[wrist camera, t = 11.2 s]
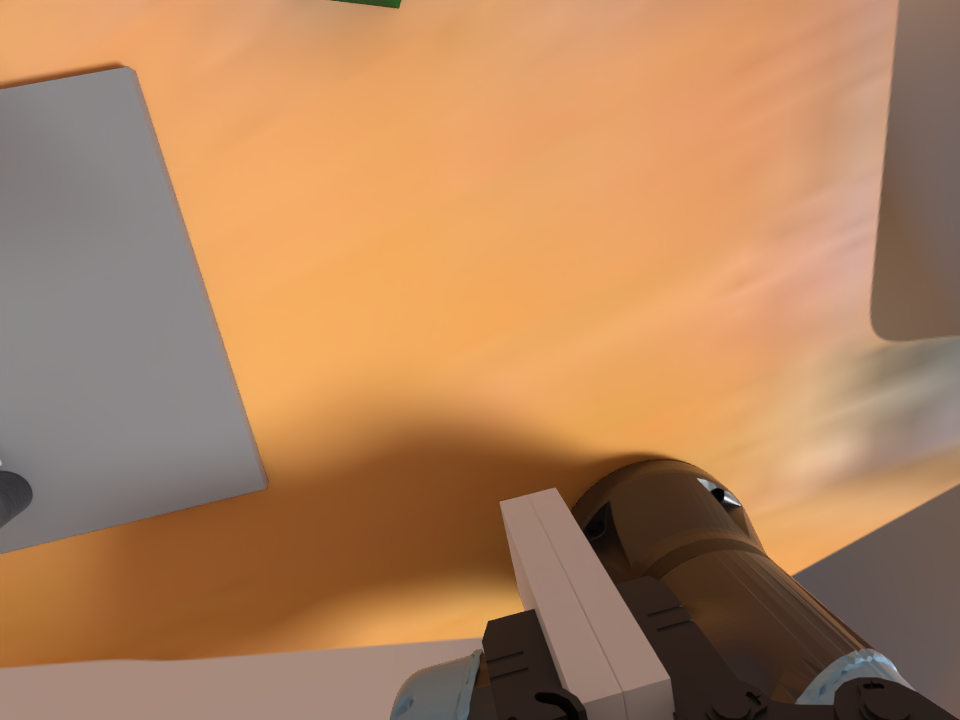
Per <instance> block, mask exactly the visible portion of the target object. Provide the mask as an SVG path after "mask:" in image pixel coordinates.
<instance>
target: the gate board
mask: <svg viewBox="0 0 960 720" xmlns="http://www.w3.org/2000/svg"><path fill="white" fill-rule="evenodd" d="M0 460H1V462H2V465H1V466H0V471H9V472H13V473H16V474H19V475H20V476H22V477H23V478H25V479H26V480H27V481H28V483H29V484H30V486H31V488H32V492H33V498H32V501H31V503H30V505H29V506H28V507H27V508H26V509H25V510H24V511H22V512H21V513H20V514H18V515H17V516H16V517H15V518H13V519H12V520H11V521H9V522H8V523H7V524H5V525H4V526H3V527H2V528H0V554H3V553H7V552H11V551H15V550H19V549H23V548H27V547H31V546H36V545H40V544H44V543H48V542H52V541H56V540H60V539H64V538H68V537H72V536H76V535H80V534H85V533H89V532H93V531H97V530H101V529H105V528H109V527H113V526H117V525H121V524H125V523H129V522H134V521H138V520H142V519H146V518H150V517H154V516H158V515H162V514H166V513H170V512H174V511H178V510H182V509H187V508H191V507H195V506H199V505H203V504H207V503H211V502H215V501H219V500H223V499H227V498H231V497H236V496H240V495H244V494H248V493H252V492H256V491H260V490H264V489H266V487H267V485H268V479H267V476H266V473H265V470H264V467H263V464H262V461H261V458H260V455H259V452H258V449H257V445H256V442H255V439H254V436H253V433H252V430H251V427H250V424H249V421H248V418H247V415H246V411H245V408H244V405H243V402H242V399H241V396H240V393H239V390H238V387H237V384H236V381H235V377H234V374H233V371H232V368H231V365H230V362H229V359H228V356H227V353H226V350H225V347H224V343H223V340H222V337H221V334H220V331H219V328H218V325H217V322H216V319H215V316H214V313H213V309H212V306H211V303H210V300H209V297H208V294H207V291H206V288H205V285H204V282H203V278H202V275H201V272H200V269H199V266H198V263H197V260H196V257H195V254H194V251H193V248H192V244H191V241H190V238H189V235H188V232H187V229H186V226H185V223H184V220H183V217H182V214H181V210H180V207H179V204H178V201H177V198H176V195H175V192H174V189H173V186H172V183H171V180H170V176H169V173H168V170H167V167H166V164H165V161H164V158H163V155H162V152H161V149H160V146H159V142H158V139H157V136H156V133H155V130H154V127H153V124H152V121H151V118H150V115H149V112H148V108H147V105H146V102H145V99H144V96H143V93H142V90H141V87H140V84H139V81H138V77H137V74H136V71H135V70H133V69H131V68H130V67H123V68H117V69H111V70H106V71H100V72H95V73H89V74H84V75H78V76H72V77H67V78H61V79H56V80H50V81H45V82H39V83H33V84H28V85H22V86H17V87H11V88H6V89H0Z"/></svg>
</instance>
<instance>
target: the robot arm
mask: <svg viewBox="0 0 960 720" xmlns="http://www.w3.org/2000/svg"><path fill="white" fill-rule="evenodd" d="M500 507H501V511H502V516H503V521H504V525H505V530H506V535H507V539H508V544H509V549H510V553H511V558H512V563H513V567H514V572H515V576H516V581H517V586H518V590H519V594H520V597H521V600H522V603H523V606H524V609H525V611H524V612H520V613H517V614H513V615H509V616H506V617H502V618H498V619H495V620H491V621H488V623H487V627H486V630H485V633H484V636H483V640H482V644H483V648H484V653H483V650H482V649H478V650H475V651H474V652H473V653H472V654H471V655H470V656H466V657H463V658H459V659H455V660H452V661H449V662H445V663H441V664H438V665H434V666H431V667H427V668H423V669H421V670H419V671H417V672H415V673H414V674H412V675H411V676H410V677H409V678H408V679H407V680H406V681H405V682H404V683H403V685H402V686H401V688H400V690H399V692H398V693H397V696H396V698H395V701H394V704H393V708H392V711H391V716H390V720H959V719H957V718H956V717H954V716H953V715H951V714H950V713H948V712H947V711H945V710H944V709H942V708H940V707H939V706H937V705H936V704H934V703H933V702H931V701H930V700H928V699H927V698H925V697H924V696H922V695H921V694H919V693H918V692H916V691H915V690H914V689H913V688H912V687H911V686H910V685H909V684H908V683H907V682H906V681H905V680H904V679H903V678H902V677H901V676H900V675H899V674H898V672H897V670H896V668H895V666H894V665H893V664H892V662H891V661H890V660H889V659H888V658H886V657H885V656H883V655H882V654H881V653H878V652H877V651H876V650H875V649H874V648H873V647H871V646H870V645H869V644H868V643H867V642H866V641H864V640H863V639H862V638H861V637H860V636H859V635H858V634H856V633H855V632H854V631H853V630H852V629H851V628H849V627H848V626H847V625H846V624H845V623H844V622H843V621H842V620H840V619H839V618H838V617H837V616H836V615H835V614H833V613H832V612H831V611H830V610H829V609H828V608H826V607H825V606H824V605H823V604H822V603H821V602H820V601H818V600H817V599H816V598H815V597H814V596H813V595H812V594H810V593H809V592H808V591H807V590H806V589H805V588H804V587H802V586H801V585H800V584H799V583H798V582H797V581H795V580H794V579H793V578H792V577H791V576H790V575H789V574H787V573H786V572H785V571H784V570H783V569H782V568H780V567H779V566H778V565H777V564H776V563H775V562H773V561H772V560H771V559H770V558H769V557H768V556H767V555H766V553H765V551H764V549H763V547H762V544H761V542H760V540H759V538H758V536H757V534H756V532H755V530H754V528H753V526H752V523H751V521H750V519H749V517H748V515H747V513H746V511H745V509H744V508H743V506H742V505H741V503H740V502H739V501H738V499H737V498H736V497H735V496H734V495H733V494H732V492H731V491H729V490H728V489H727V488H726V487H725V486H724V485H722V484H721V483H720V482H719V481H717V480H716V479H715V478H714V477H712V476H711V475H710V474H708V473H707V472H705V471H704V470H702V469H700V468H698V467H695V466H693V465H690V464H687V463H684V462H679V461H673V460H651V461H644V462H640V463H636V464H632V465H629V466H627V467H624V468H622V469H619V470H617V471H615V472H613V473H611V474H610V475H608V476H606V477H605V478H603V479H602V480H600V481H599V482H598V483H597V484H595V485H594V486H593V487H592V488H591V489H590V490H589V491H587V492H586V493H585V495H584V496H583V497H582V498H581V499H580V500H579V502H578V503H577V504H576V506H575V507H574V508H573V510H572V512H570V510H569V509H568V507H567V505H566V504H565V502H564V501H563V499H562V497H561V496H560V494H559V492H558V491H557V489H556V487H555V488H551V489H547V490H543V491H539V492H536V493H532V494H528V495H524V496H520V497H516V498H512V499H508V500H504V501H500Z"/></svg>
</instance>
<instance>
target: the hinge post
mask: <svg viewBox="0 0 960 720" xmlns="http://www.w3.org/2000/svg"><path fill="white" fill-rule="evenodd" d="M32 498H33V492H32V488H31V486H30V484H29V483H28V481H27V480H26V479H25V478H23V477H22V476H20V475H19V474H16V473H13V472H9V471H0V528H2V527H3V526H4V525H5V524H7V523H8V522H9V521H11V520H12V519H13V518H15V517H16V516H17V515H18V514H20V513H21V512H22V511H24V510H25V509H26V508H27V507H28V506H29V505H30V503H31V501H32Z"/></svg>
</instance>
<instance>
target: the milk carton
mask: <svg viewBox="0 0 960 720" xmlns="http://www.w3.org/2000/svg"><path fill="white" fill-rule="evenodd" d="M333 1H341V2H349V3H358V4H366V5H374V6H382V7H391V8H399V7H400V3H401V0H333Z"/></svg>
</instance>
